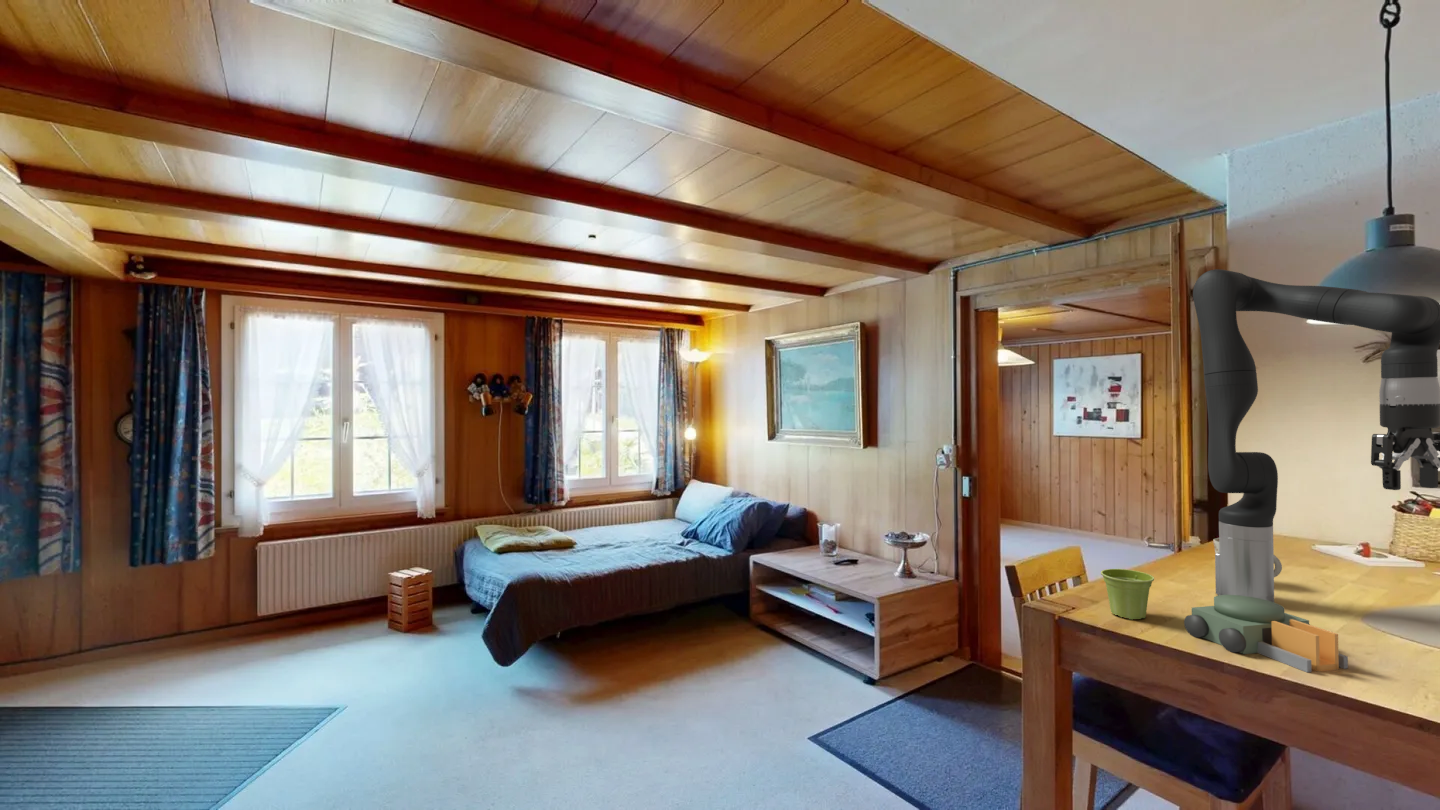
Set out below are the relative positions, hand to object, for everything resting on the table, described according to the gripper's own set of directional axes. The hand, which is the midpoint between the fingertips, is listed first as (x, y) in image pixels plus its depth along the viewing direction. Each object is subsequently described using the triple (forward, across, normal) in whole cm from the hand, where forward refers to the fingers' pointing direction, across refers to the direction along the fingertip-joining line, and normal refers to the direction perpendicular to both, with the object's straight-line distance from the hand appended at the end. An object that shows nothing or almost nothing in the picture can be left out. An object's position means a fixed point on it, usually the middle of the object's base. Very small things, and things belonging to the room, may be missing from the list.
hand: (1410, 488), depth 113 cm
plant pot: (+28, +41, -21) cm, 54 cm away
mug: (+28, -4, -34) cm, 44 cm away
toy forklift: (+28, +30, -1) cm, 41 cm away
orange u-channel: (+28, +30, +4) cm, 41 cm away
